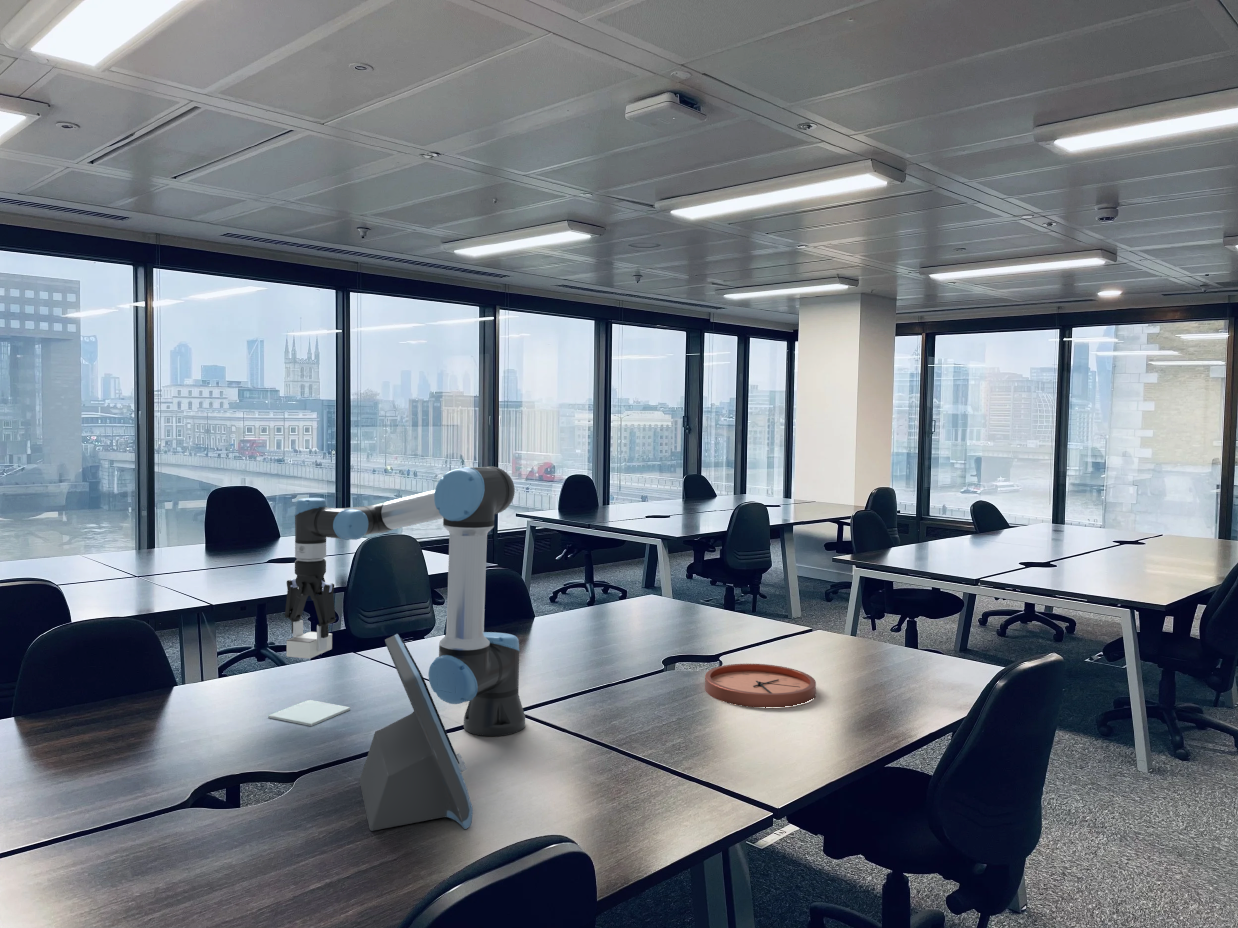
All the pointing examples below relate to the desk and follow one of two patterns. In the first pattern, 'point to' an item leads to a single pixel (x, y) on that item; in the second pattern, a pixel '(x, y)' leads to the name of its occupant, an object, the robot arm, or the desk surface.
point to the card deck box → (306, 645)
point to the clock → (759, 685)
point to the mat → (309, 712)
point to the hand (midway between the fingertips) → (309, 647)
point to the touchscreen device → (413, 760)
